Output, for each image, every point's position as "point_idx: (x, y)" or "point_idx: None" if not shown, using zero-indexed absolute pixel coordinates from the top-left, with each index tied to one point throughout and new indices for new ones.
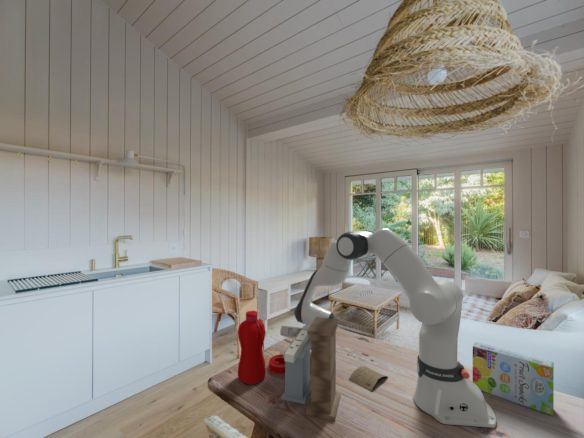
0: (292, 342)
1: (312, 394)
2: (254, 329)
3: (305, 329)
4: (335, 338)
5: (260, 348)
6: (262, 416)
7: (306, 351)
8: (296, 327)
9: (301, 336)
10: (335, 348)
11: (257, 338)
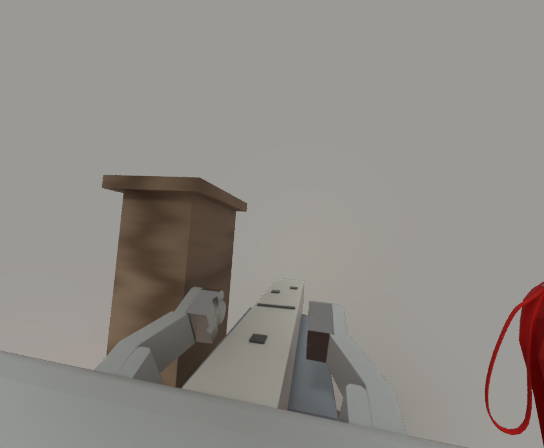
0: (325, 380)
1: None
2: (533, 290)
3: (225, 399)
4: (122, 252)
5: (523, 424)
6: (338, 415)
7: (236, 325)
8: (369, 425)
9: (265, 326)
10: (117, 294)
11: (520, 343)
